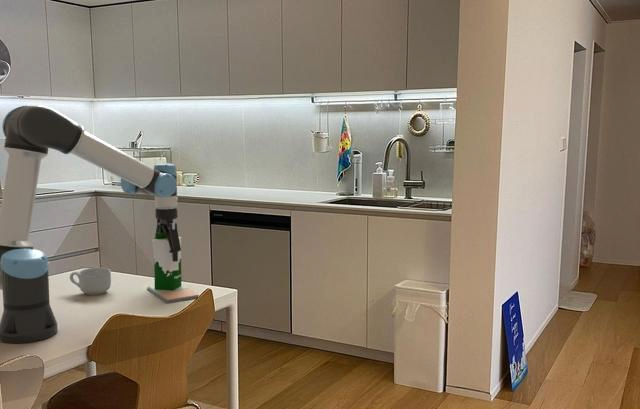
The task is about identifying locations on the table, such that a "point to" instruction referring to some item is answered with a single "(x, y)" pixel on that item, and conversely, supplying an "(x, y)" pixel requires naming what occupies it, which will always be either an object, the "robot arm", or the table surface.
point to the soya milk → (165, 264)
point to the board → (173, 294)
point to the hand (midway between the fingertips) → (167, 266)
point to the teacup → (93, 280)
